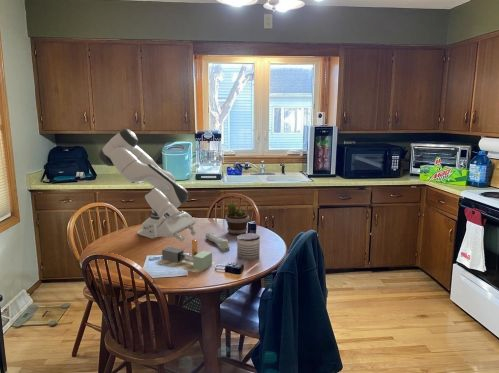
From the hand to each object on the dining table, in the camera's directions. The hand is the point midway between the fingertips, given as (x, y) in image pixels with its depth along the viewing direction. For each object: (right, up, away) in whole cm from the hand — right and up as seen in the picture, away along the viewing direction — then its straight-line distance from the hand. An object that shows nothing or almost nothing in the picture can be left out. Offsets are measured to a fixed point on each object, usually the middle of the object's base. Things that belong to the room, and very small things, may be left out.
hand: (188, 237), depth 178 cm
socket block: (+7, -14, -1) cm, 15 cm away
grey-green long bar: (+11, -9, +31) cm, 34 cm away
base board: (-2, -14, +4) cm, 14 cm away
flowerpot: (+21, -4, +53) cm, 57 cm away
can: (+28, -12, +13) cm, 33 cm away
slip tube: (+1, -12, +2) cm, 12 cm away
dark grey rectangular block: (-9, -12, +7) cm, 16 cm away
